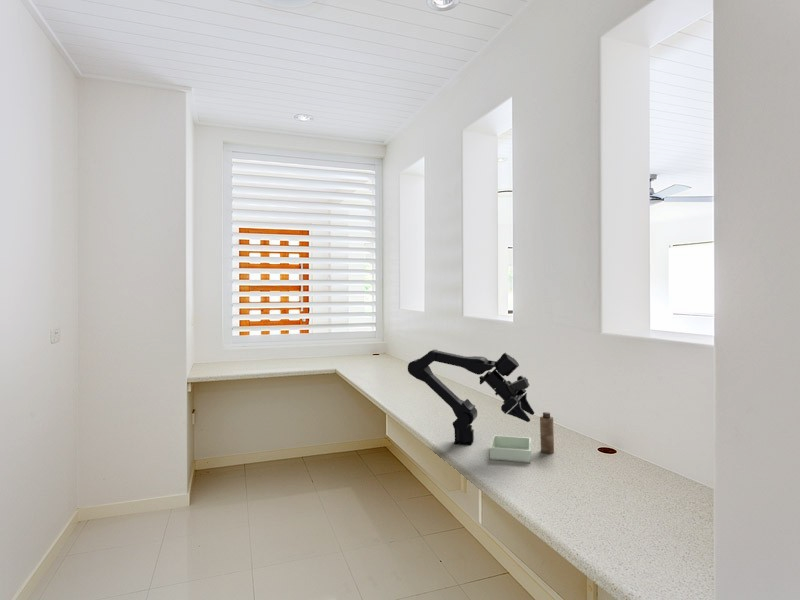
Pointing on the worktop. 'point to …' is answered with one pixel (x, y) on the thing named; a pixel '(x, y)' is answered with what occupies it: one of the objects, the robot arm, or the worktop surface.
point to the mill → (546, 433)
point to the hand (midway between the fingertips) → (531, 417)
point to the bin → (510, 449)
